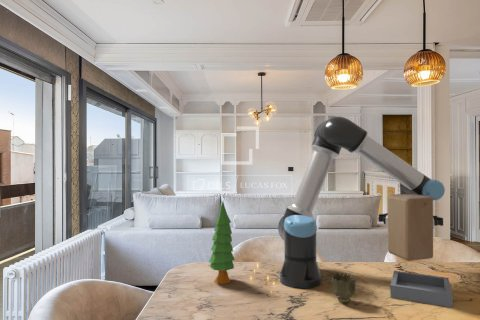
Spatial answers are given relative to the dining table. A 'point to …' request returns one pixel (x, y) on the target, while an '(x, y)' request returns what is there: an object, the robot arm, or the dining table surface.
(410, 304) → the dining table surface
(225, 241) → the decorative tree
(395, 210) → the wooden block
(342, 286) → the cup
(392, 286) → the gray square tray
